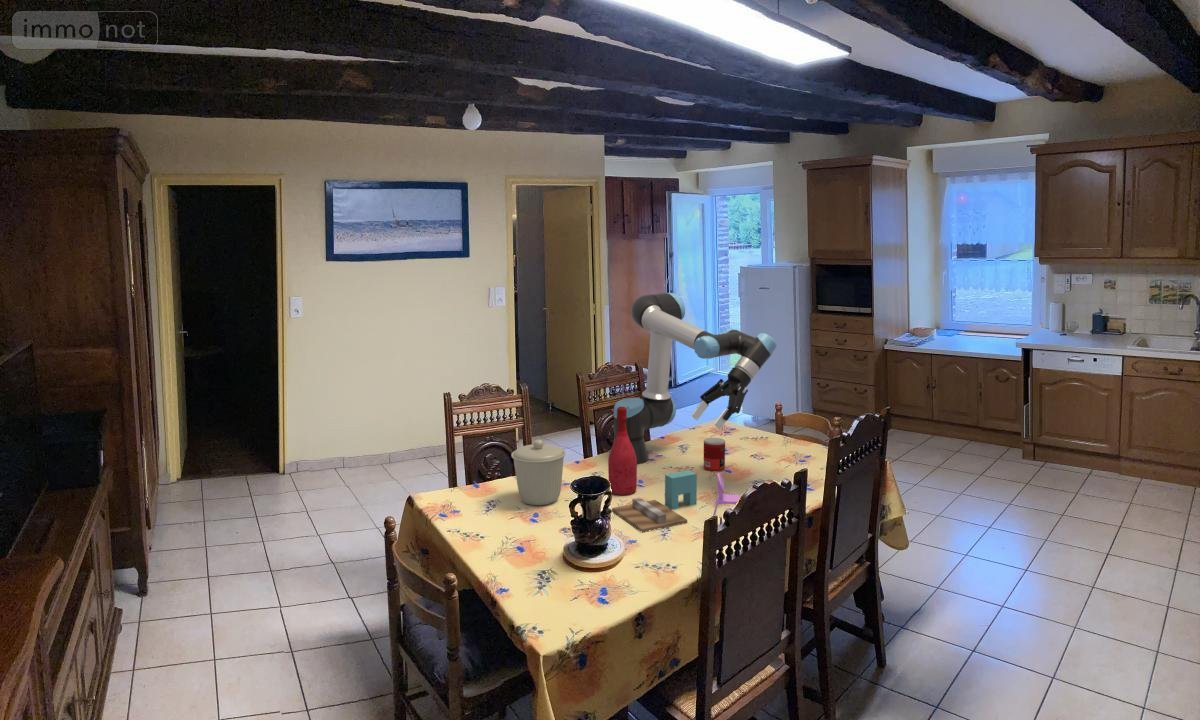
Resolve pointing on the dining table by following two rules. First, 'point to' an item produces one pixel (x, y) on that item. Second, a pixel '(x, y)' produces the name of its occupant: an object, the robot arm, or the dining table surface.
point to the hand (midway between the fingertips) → (705, 422)
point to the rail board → (645, 519)
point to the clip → (680, 488)
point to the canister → (539, 472)
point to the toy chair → (724, 497)
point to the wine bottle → (622, 459)
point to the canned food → (714, 454)
